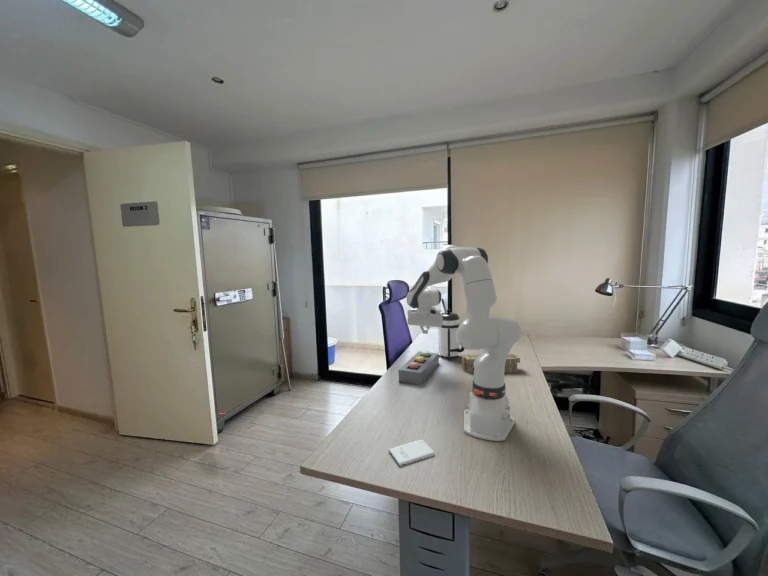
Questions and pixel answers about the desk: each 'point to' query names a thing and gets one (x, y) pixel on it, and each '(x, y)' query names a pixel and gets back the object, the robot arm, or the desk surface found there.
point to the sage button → (425, 353)
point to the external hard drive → (411, 452)
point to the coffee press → (449, 335)
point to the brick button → (413, 365)
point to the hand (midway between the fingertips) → (425, 333)
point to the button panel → (423, 371)
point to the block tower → (469, 359)
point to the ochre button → (419, 359)
